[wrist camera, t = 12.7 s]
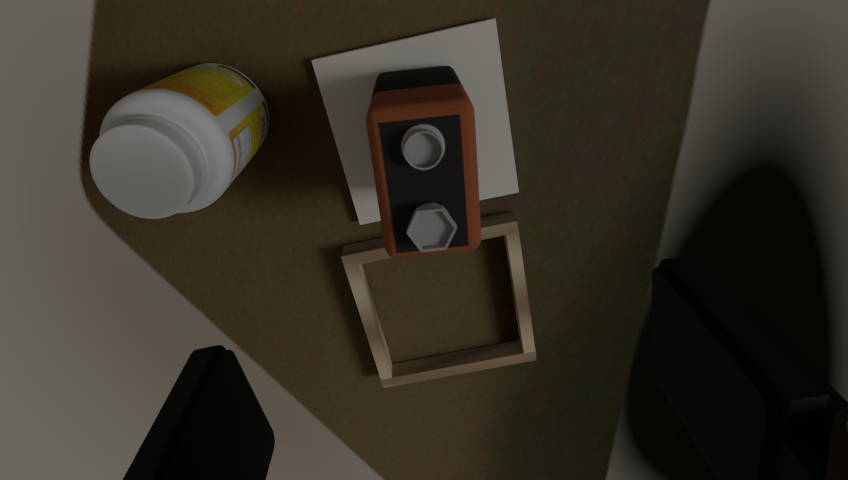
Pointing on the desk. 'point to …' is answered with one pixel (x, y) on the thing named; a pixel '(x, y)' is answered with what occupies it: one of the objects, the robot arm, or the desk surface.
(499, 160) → the ceramic pad
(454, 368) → the holder frame
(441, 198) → the battery
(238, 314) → the desk surface
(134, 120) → the supplement bottle
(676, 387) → the robot arm
